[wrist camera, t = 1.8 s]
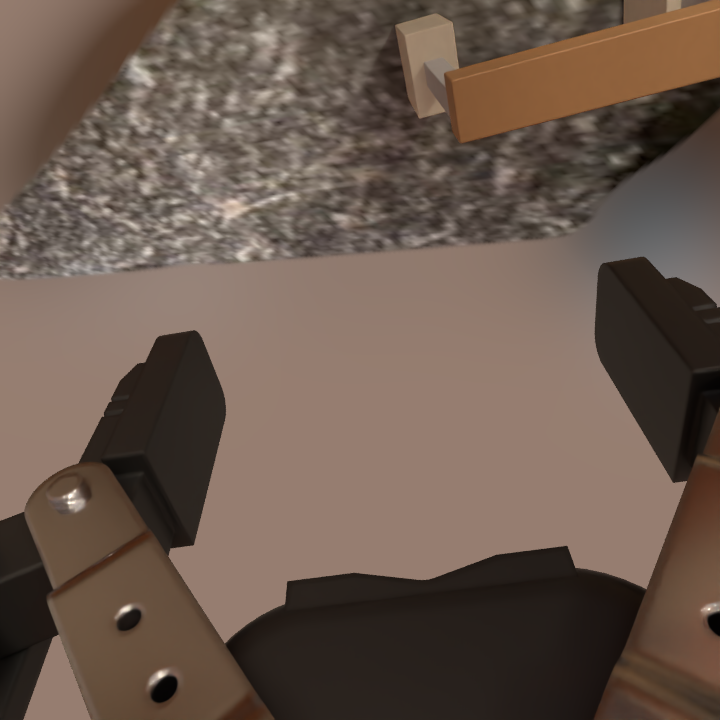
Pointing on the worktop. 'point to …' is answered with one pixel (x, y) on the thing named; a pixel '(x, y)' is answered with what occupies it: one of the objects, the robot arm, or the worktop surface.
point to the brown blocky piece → (560, 68)
